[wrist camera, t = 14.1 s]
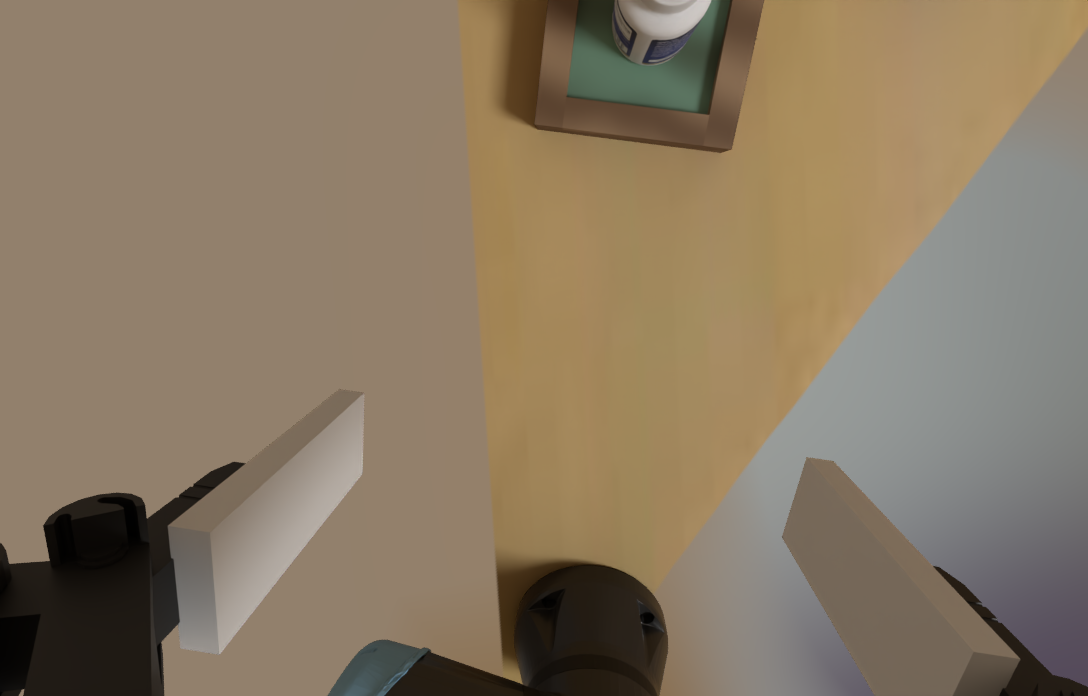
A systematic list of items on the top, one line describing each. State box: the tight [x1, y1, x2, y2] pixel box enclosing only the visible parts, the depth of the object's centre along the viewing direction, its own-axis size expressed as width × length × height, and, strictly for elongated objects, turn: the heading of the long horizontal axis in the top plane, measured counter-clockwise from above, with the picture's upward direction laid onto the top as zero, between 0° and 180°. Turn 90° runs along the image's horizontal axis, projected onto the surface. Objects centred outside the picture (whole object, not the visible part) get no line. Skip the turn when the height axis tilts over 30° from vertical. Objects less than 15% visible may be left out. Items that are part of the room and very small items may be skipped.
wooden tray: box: [535, 0, 764, 153], centre depth 36 cm, size 14×14×3 cm
